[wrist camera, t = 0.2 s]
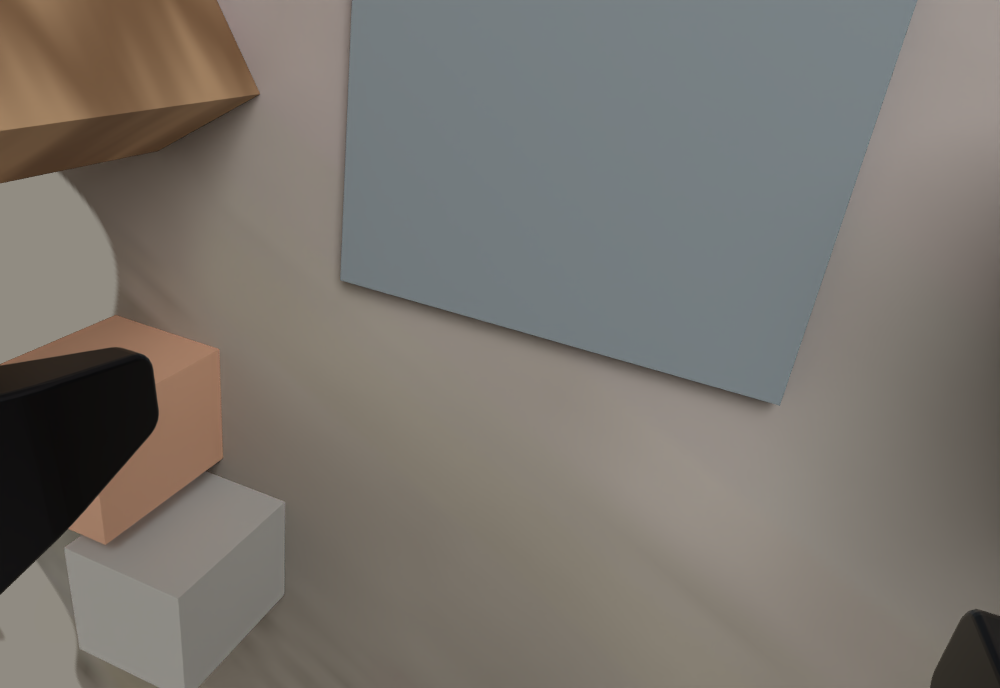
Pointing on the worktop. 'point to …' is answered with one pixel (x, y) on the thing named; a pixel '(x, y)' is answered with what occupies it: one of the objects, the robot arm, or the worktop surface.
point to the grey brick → (180, 582)
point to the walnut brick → (110, 79)
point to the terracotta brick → (180, 428)
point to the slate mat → (615, 168)
